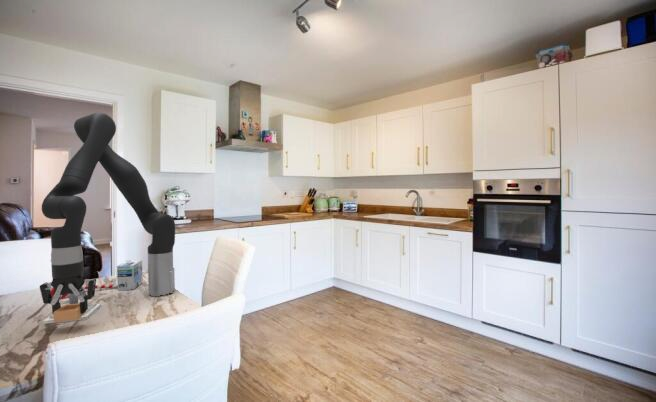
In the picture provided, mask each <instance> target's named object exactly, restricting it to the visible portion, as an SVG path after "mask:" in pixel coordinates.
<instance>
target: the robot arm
mask: <svg viewBox="0 0 656 402" xmlns="http://www.w3.org/2000/svg"><path fill="white" fill-rule="evenodd" d="M73 129H74V131H75V134H76V136H77V137H78V138H79V140H80V141H81V142H82V143H83V144H82V145H81V147H80V148H79V149H78V150H77V152H75V154H74V155H73V157H72V158H71V159H70V160H69V161H68V162H67V164H66V167H65V169H64V170H63V172H62V175H61V177H60V180H59V182H57V184H55V186H54V187H53V188H52V189H51V190H50V191H49V192H48V193H47V195H46V196H45V197H44V198H43V201H42V204H41V212H42V215H43V216H44V217H46V218H47V219H50V220H65V221H64V224H63V226H58V227H55V228H53V229H51V232H50V243H51V244H50V245H51V252H50V262H51V265H50V266H51V278H52V280H51V282H44V283H42V284H41V285H39V290H40V294H41V297H42V303H43V304H45V305H47V304H49V305H51V313H52V314H53V312H55V311H56V310H58V309H59V308H60V307H61V305H62V303H61V302H60V300H62V299H61V297H62V295H64V294H75V296H76V297H78V301H80V302H79V303H80V313H81V314H84V313H85V312H86V310H87V309H88V304H89V303H88V300H89V301H90V300H91V299H92V298H94V297H95V294H96V293H95V292H96V289H95V287H96V284H97V278H92V279H90V278H88V279H87V278H85V274H84V273H85V272H84V269H85V268H84V255H83V253H84V252H83V249H82V248H83V247H82V237H81V235H82V233H81V232H82V228H83V224H84V220H85V217H86V213H87V204H86V201H85V200H84V199H83V198H82V197H81V196H77V195H81V194H83V193H85V192H86V191H87V190H88V188H89V187H88V186H89V184H90V181H91V179H92V176H93V174H94V171H95V170H96V169H95V168H96V166H97V165H98V162H99V163H100V165H101V166H102V168H103V169H104V170H105V172H106V174H108V176H109V177H110V179H111V180H112V182H113V184H114V185H115V187H116V188H117V189H118V190H119V192H120V193H121V195H122V196H123V197H124V199H125V200H126V202H127V203H128V204H129V206H130V207H131V209H133V211H134V212H135V214H136V215H137V218H138V220H139V222H140V223H141V225H142V227H143V229H144V231H145V232H147V234H149V235H151V237H152V239H151V244H149V245H148V246H147V271H148V273H147V275H148V279H147V280H148V281H147V282H148V283H147V284H148V295H149V296H150V295H151V297H161V296H160V295H163V296H166V295H165V294H168V295H170V294H169V293H172V292H173V291H174V292H175V290H174V289H175V288H176V287H175V286H176V283H175V280H176V279H175V276H176V275H175V268H174V246H175V241H176V222H175V219H174V217H172V216H171V215H170V214H168V213H162V212H160V211H158V209H157V207H155V205H154V203H153V202H152V200H151V197H150V195H149V188H148V185H147V183H146V180H145V179H144V178H143V176H142V174H141V173H140V171H139V170H138V169H137V167H136V166H135V165H133V164H132V162H129V161H128V160H127V159H126V158H123V156H121V155H119V154H118V153H116V151H114V150H113V148H112V147H111V146H110V145H109V143H110V142H111V141H112V140H113V138H114V136H115V134H116V132H117V125H116V123H115V121H114V119H113V118H112V117H111V116H110V115H108V114H107V113H103V112H96V113H95V112H94V113H90V114H88V115H85V116H83V117H80V118H77V119H76V120H75V121H74V123H73ZM84 285H85V286H87V287H88V289H87V293H86V289H83V287H82V286H84ZM52 287H53V288H54V289H55V290H56V292H55V294H54V296H53V298H52V294H51V290H50V289H51V288H52ZM174 292H173V293H174ZM173 293H172V294H173ZM52 314H51V315H52Z"/></svg>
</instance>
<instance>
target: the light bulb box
mask: <svg viewBox="0 0 656 402" xmlns="http://www.w3.org/2000/svg"><path fill="white" fill-rule="evenodd" d="M116 275H117V277H116V278H117V285H118V288H117V292H118V291H119V292H120V291H132V290H131V289H134V290H135V288H136V287H137V286H138V285H139V286H141V285H142V284H143V283H142V282H143V280H144V279H143V260H142V259H137V260H135V259H134V260H130V259H129V260H125V261H124V262H122V263H120V264H118V265H117V266H116ZM141 283H142V284H141ZM140 284H141V285H140ZM139 286H138V287H139ZM138 287H137V288H138ZM137 288H136V289H137Z"/></svg>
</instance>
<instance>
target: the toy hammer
mask: <svg viewBox="0 0 656 402" xmlns="http://www.w3.org/2000/svg"><path fill="white" fill-rule="evenodd" d="M82 287H83V289H84V290H88V287H87V286H86V285H83V286H82ZM96 289H97V290H98V289H118V284H105V285H104V284H102V285H101V284H100V285H99V284H97V285H96V287H95V290H96ZM50 290H51V294H52V298H53V296H54V294H55V292H56V290H55V289H54V288H53V287H52V286H51V289H50ZM67 298H69V294H64V295H62V297H61V299H60V300H66V299H67Z"/></svg>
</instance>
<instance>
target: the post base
mask: <svg viewBox="0 0 656 402" xmlns="http://www.w3.org/2000/svg"><path fill="white" fill-rule="evenodd" d="M68 302H69V303H68V304H78V303H79V299H78V297H76V296H75V294H69V296H68ZM101 307H102V303H97V302H94V303H93V302H91V303H88V309H87V310H86V311H87V312H86V313H85V314H83V315H82V316H81V317H80V318H79V319H78V320H69V321H60V322H59V323H65V322H67V323H68V322H75V321H85V320H88V319H89V318H90V317H92V315H94V314H95V313H96V312H97V311H98V310H100V308H101ZM55 323H58V322H54V315H53V314H51V315H50V316H48V317H47V318H45V319H44V320H42V325H47V324H55Z"/></svg>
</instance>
